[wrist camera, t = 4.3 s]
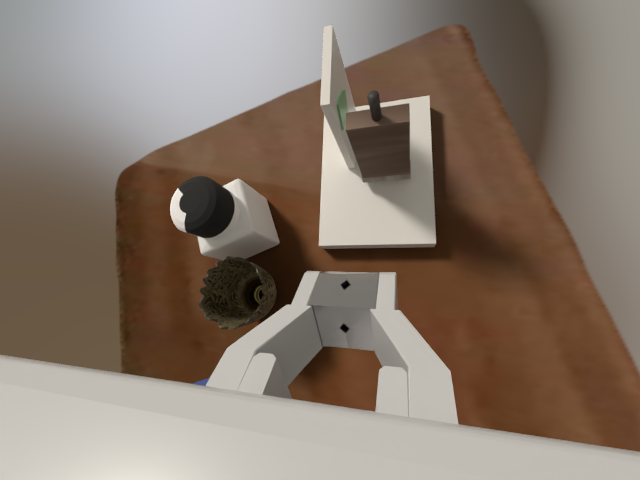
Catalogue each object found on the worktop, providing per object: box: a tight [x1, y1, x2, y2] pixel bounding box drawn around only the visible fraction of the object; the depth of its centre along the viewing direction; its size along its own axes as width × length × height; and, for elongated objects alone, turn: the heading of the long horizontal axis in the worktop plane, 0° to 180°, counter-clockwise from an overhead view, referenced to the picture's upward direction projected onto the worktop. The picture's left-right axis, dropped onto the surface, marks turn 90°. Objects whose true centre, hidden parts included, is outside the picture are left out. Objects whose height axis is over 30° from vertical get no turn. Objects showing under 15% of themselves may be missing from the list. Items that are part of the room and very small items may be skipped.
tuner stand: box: [319, 25, 436, 249], centre depth 30 cm, size 18×13×14 cm
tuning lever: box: [346, 91, 411, 183], centre depth 27 cm, size 2×5×14 cm, turn 88°
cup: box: [199, 256, 277, 329], centre depth 33 cm, size 8×7×8 cm
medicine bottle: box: [170, 176, 280, 260], centre depth 34 cm, size 7×7×12 cm
